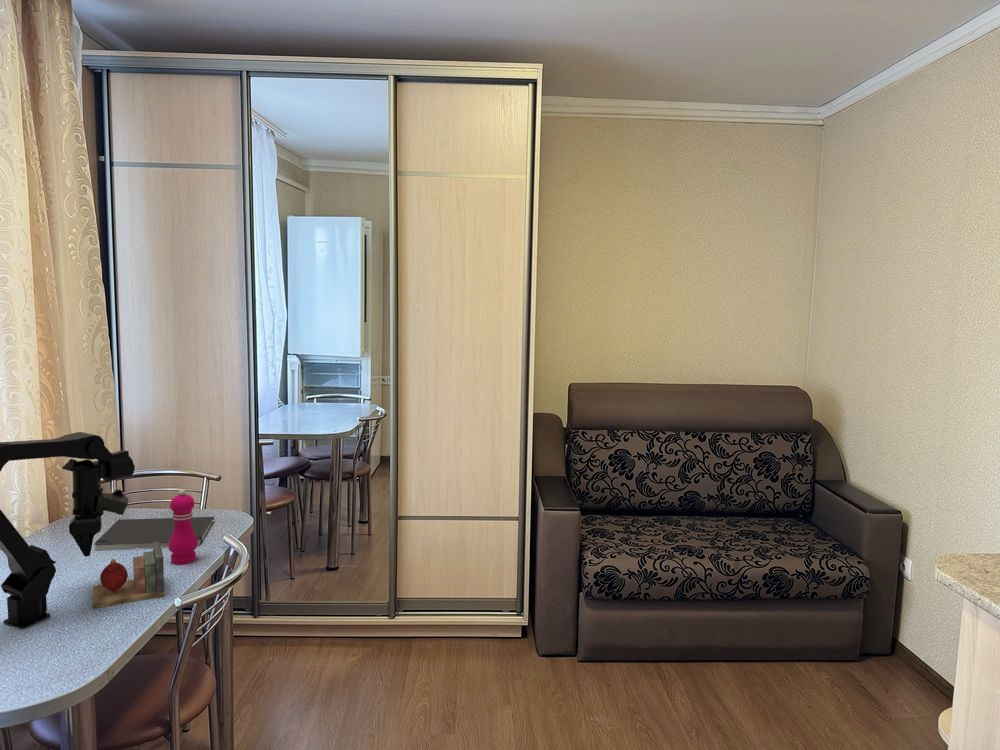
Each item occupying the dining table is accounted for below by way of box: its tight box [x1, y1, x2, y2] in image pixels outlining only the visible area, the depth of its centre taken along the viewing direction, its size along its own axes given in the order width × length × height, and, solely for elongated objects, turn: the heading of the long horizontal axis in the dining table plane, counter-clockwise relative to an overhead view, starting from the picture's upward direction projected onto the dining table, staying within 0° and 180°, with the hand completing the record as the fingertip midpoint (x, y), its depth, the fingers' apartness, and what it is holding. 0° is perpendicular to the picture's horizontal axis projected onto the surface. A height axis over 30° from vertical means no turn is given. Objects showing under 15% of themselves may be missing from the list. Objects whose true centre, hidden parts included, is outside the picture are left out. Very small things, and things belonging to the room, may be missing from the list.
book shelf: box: [92, 542, 165, 609], centre depth 168 cm, size 15×11×10 cm
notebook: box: [93, 516, 215, 551], centre depth 207 cm, size 22×2×28 cm
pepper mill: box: [168, 488, 198, 565], centre depth 188 cm, size 7×7×20 cm
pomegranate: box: [99, 558, 129, 592], centre depth 166 cm, size 6×6×8 cm
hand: (88, 549), depth 165 cm, fingers open, 9 cm apart
